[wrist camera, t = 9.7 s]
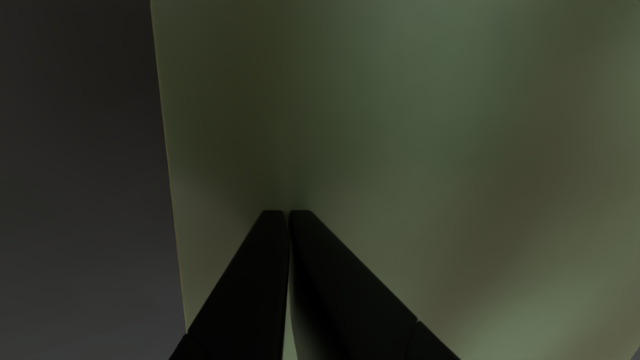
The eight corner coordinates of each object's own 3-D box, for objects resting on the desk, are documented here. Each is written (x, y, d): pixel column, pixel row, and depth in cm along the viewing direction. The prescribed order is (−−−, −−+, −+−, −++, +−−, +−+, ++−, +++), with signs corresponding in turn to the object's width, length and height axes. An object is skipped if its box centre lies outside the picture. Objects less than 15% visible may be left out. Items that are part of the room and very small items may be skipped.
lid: (198, 391, 12) (194, 420, 11) (139, -203, 5) (124, -219, 5) (594, 364, 14) (611, 387, 13) (898, -98, 7) (964, -99, 7)
